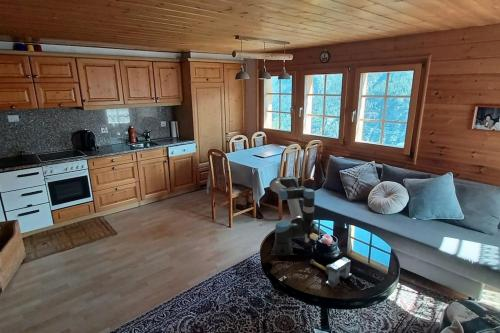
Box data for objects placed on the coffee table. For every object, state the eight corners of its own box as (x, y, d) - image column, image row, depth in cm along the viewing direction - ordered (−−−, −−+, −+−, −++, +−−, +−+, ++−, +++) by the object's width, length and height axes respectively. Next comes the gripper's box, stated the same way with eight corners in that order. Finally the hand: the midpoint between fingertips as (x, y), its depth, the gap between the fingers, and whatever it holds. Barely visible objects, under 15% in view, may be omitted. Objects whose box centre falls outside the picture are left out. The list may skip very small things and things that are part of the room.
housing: (325, 283, 184) (326, 266, 181) (344, 271, 196) (345, 255, 193) (332, 287, 180) (334, 271, 177) (351, 275, 192) (352, 259, 189)
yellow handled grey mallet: (309, 264, 204) (310, 256, 203) (313, 262, 207) (313, 254, 205) (331, 277, 190) (332, 269, 188) (335, 275, 192) (336, 267, 191)
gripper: (297, 209, 202) (296, 239, 208) (312, 215, 192) (310, 247, 198) (304, 206, 207) (303, 236, 213) (319, 212, 197) (317, 243, 203)
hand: (307, 241), depth 205 cm, fingers closed
